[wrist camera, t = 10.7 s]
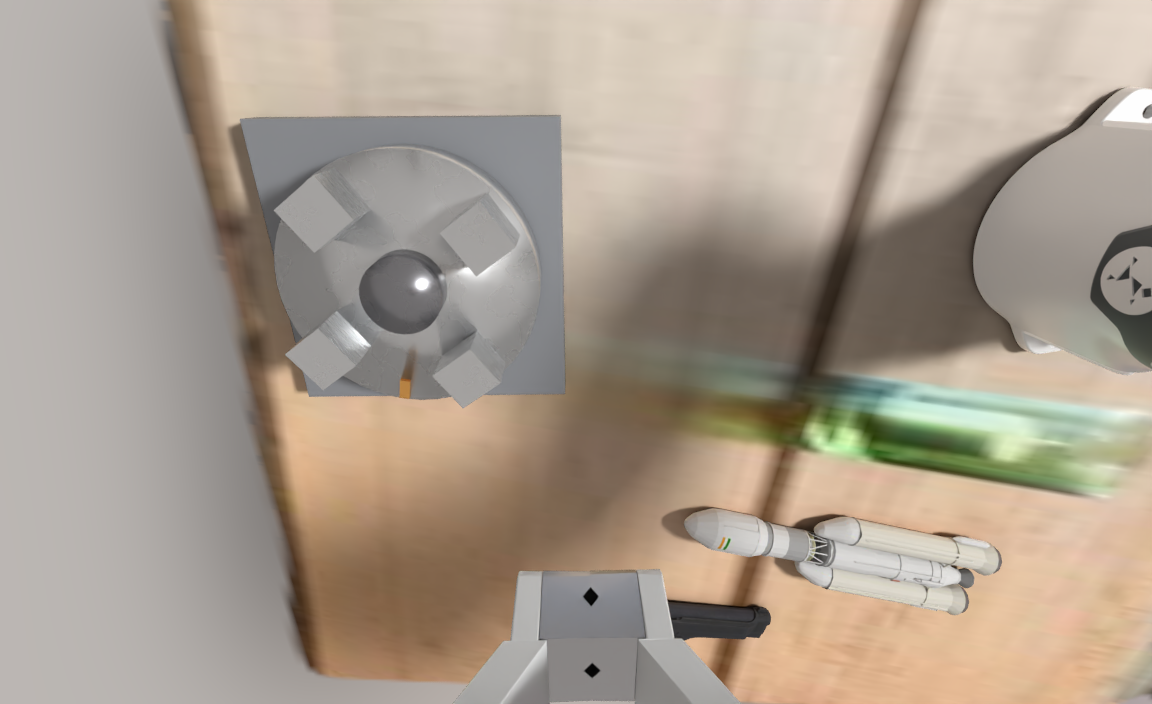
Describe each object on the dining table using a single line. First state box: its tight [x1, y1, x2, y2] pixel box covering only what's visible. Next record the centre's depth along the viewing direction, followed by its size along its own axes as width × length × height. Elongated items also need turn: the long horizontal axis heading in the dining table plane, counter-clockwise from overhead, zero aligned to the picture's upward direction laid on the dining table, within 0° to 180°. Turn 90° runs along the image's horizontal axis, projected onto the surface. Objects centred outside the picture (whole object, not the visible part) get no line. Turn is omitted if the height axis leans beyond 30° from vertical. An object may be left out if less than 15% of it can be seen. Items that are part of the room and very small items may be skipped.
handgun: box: [668, 602, 771, 640], centre depth 58 cm, size 3×21×14 cm
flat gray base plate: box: [240, 115, 565, 397], centre depth 40 cm, size 20×20×2 cm
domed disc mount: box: [274, 144, 541, 408], centre depth 36 cm, size 17×17×6 cm
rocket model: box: [684, 508, 1002, 615], centre depth 52 cm, size 9×4×30 cm
